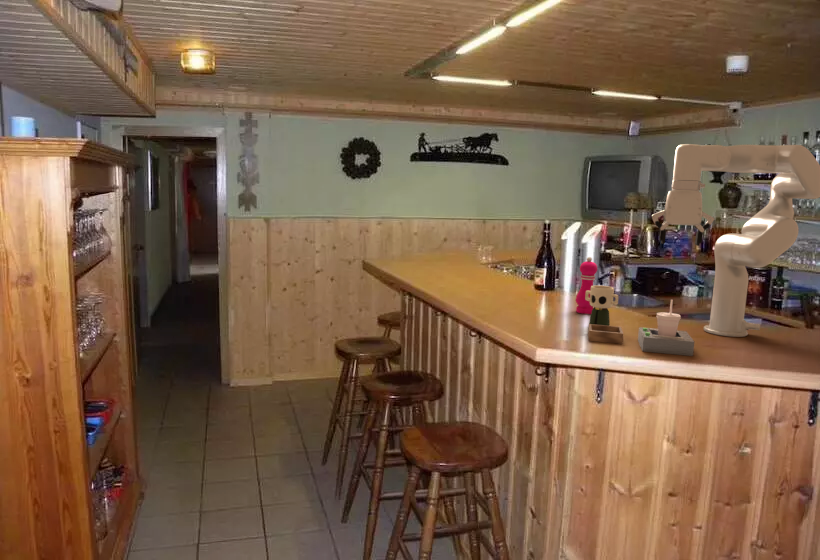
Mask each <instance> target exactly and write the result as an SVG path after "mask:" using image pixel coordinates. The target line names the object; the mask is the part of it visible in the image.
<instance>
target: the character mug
mask: <svg viewBox="0 0 820 560" xmlns="http://www.w3.org/2000/svg"><path fill="white" fill-rule="evenodd" d="M588 294H590V298H588ZM614 298H615V299H614ZM585 299H586V300H587V301H590V305H591V306H593V310H592V312H591V314H590V318H589V322H588V325H589V324H595V325H606V326H611V325H610V321H611V319H610V311H609V309H610V308H612V307H613V305H614V306H617V305H618V304H619V294H616V293H615V288H614V287H612V286H608V285H600V284H599V285H593V286H591V291H586V296H585Z"/></svg>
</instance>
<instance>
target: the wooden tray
mask: <svg viewBox="0 0 820 560" xmlns="http://www.w3.org/2000/svg"><path fill="white" fill-rule="evenodd" d="M587 328H588V329H587V330H588V331H587V337H588V341H589V342H600V343H611V344H621V345H622V344H623V342H624V332H623V328H622V326H616V325H615V326H614V325H609V326H606V325H595V324H589V323H588V327H587Z"/></svg>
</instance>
